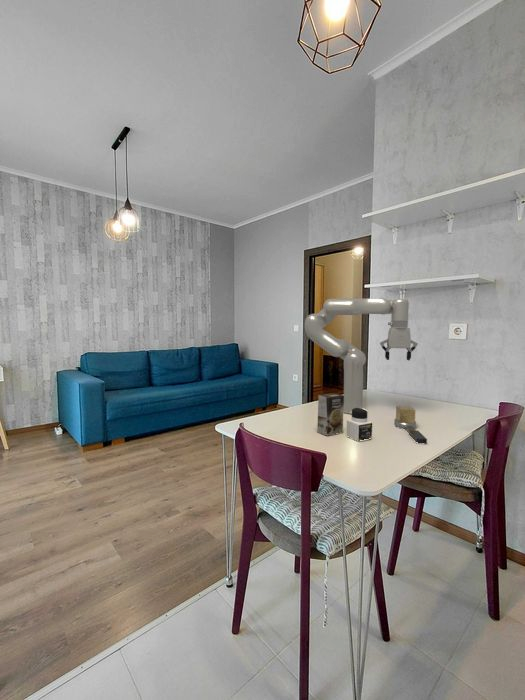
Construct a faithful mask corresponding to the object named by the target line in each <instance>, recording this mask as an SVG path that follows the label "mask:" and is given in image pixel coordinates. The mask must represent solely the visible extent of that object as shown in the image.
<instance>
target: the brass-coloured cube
mask: <svg viewBox="0 0 525 700" xmlns="http://www.w3.org/2000/svg"><path fill="white" fill-rule="evenodd" d="M395 409H396V410H395V419H396V420H397V421H398V422H399V423H414V424H415V421H416V409H415V408H413V406H409V405H408V406H406V405H396V406H395Z"/></svg>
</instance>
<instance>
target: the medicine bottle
mask: <svg viewBox="0 0 525 700" xmlns="http://www.w3.org/2000/svg"><path fill="white" fill-rule="evenodd" d="M368 412H369V411H368V410H367V409H366V408H363V407H362V408H354V409H352V414H351V419H346V433H345V434H346V435H347V436H349V437H351V438H353V439H356V440H358V441H360V440H364V439H369V438H372V439H373V436H372V435H373V422H372V421H370V420H369V419H368V416H369V413H368ZM347 436H346V437H347ZM351 438H350V439H351ZM353 439H352V440H353Z"/></svg>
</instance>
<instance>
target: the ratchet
mask: <svg viewBox="0 0 525 700" xmlns="http://www.w3.org/2000/svg"><path fill="white" fill-rule="evenodd" d="M393 421H394V424H393V426H394V425H395V426H396V428H397V427H399V428H398V429H401V428H403V429H402V430H404V429H405V430H406V431H407V432H408V433H409V434H408V433H407V432H406V431H405V430H404V431H405V432H406V433H407V434H408V436H409V435H410V436H411V437H412V438H413V439H414V440H415V441H416V442H418V443H428V442H427V441H428V439H427V438H426V437H425V436H424V435H423V434H422V433H421V432H420V431H419V430H417V429H416V428H417V421H416V420H415V424H414V423H399V422H398V421H397V420H396V418H394V420H393ZM395 426H394V427H395ZM410 436H409V437H410ZM411 437H410V438H411ZM412 438H411V439H412ZM413 439H412V440H413ZM414 440H413V441H414ZM415 441H414V442H415ZM416 442H415V443H416Z"/></svg>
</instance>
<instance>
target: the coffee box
mask: <svg viewBox="0 0 525 700" xmlns="http://www.w3.org/2000/svg"><path fill="white" fill-rule="evenodd" d="M317 398H318V402H317V403H318V404H317V433H318V432H320V433H322V434H321V435H323V434H324V435H323V436H325V435H327V436H326V437H329V436H328V435H331V436H333V435H332V434H335V435H337V434H336V433H340V432H343V433H344V413H343V409H344V394H339V393H333V392H332V393H325V394H318V397H317ZM320 433H319V434H320ZM340 434H341V433H340Z"/></svg>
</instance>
